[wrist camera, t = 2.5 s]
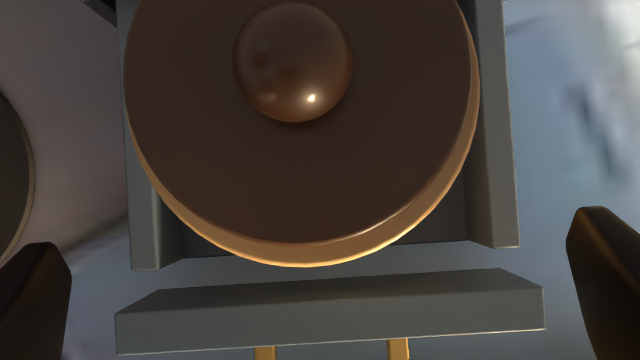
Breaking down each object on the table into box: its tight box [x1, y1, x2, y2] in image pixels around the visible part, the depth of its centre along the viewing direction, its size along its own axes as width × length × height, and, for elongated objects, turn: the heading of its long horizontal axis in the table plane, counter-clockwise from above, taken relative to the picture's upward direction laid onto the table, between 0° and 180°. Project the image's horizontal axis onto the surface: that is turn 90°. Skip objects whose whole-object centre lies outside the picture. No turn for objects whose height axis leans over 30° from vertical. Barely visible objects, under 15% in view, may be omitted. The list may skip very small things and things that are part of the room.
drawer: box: [114, 0, 546, 360], centre depth 18 cm, size 16×12×4 cm
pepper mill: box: [123, 0, 480, 267], centre depth 13 cm, size 5×5×13 cm
